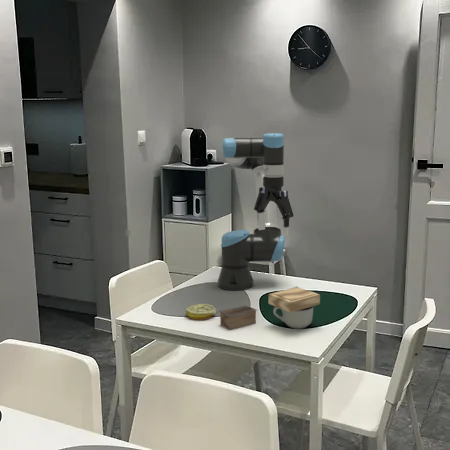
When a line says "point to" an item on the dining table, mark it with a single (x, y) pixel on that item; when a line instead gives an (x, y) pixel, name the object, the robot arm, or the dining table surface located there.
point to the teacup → (296, 317)
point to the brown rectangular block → (238, 317)
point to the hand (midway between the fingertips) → (272, 232)
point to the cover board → (294, 299)
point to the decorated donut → (200, 311)
